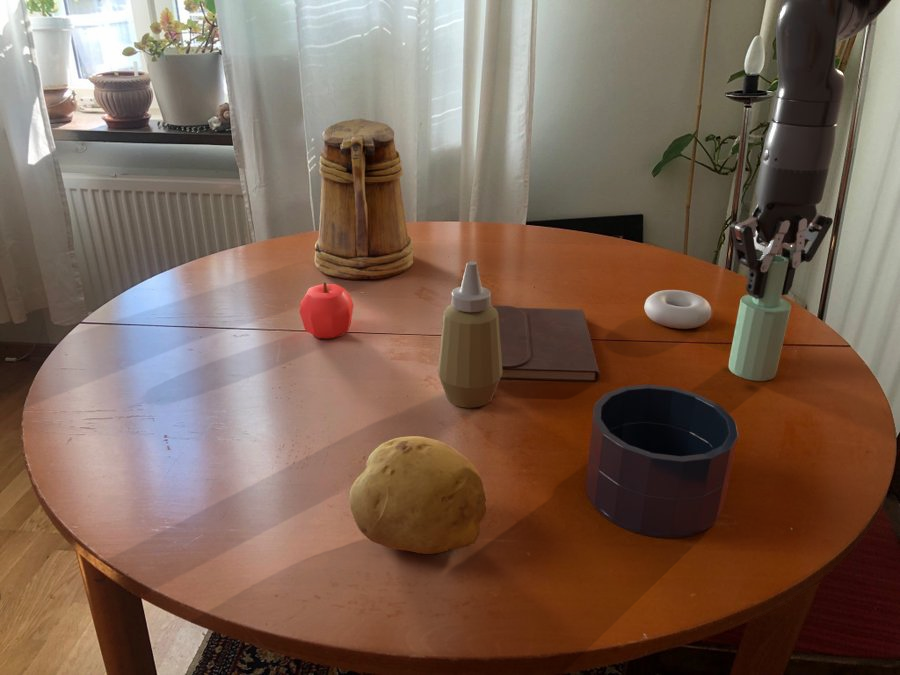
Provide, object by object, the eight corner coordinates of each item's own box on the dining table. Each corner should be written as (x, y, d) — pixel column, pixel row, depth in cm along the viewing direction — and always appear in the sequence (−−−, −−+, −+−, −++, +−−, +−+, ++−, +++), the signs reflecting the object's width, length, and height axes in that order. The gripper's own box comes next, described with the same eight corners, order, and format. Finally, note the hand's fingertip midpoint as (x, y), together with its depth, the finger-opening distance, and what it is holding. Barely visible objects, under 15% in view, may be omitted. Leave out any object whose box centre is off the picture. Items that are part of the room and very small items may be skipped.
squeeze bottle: (454, 376, 99) (455, 247, 91) (511, 389, 95) (517, 257, 87) (426, 404, 92) (424, 268, 84) (486, 420, 89) (490, 280, 81)
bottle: (771, 362, 102) (795, 252, 95) (779, 383, 97) (805, 268, 90) (725, 357, 103) (746, 249, 96) (731, 378, 98) (753, 265, 91)
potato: (484, 575, 66) (487, 484, 62) (345, 569, 67) (337, 479, 62) (486, 502, 75) (488, 418, 71) (363, 497, 76) (358, 414, 71)
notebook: (583, 318, 115) (584, 307, 114) (599, 381, 97) (600, 368, 96) (486, 316, 116) (486, 304, 115) (484, 378, 98) (485, 365, 97)
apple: (306, 347, 106) (301, 296, 102) (297, 325, 113) (293, 276, 109) (360, 339, 108) (357, 289, 105) (349, 318, 115) (346, 269, 111)
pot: (714, 463, 81) (728, 392, 77) (729, 547, 69) (746, 469, 65) (588, 448, 84) (595, 378, 80) (582, 527, 72) (590, 450, 68)
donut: (665, 301, 121) (630, 317, 115) (668, 281, 120) (632, 297, 114) (721, 320, 115) (687, 338, 109) (725, 300, 113) (691, 317, 107)
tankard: (407, 243, 146) (404, 113, 135) (422, 289, 126) (420, 139, 114) (314, 248, 144) (303, 116, 133) (314, 295, 123) (301, 143, 112)
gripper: (767, 172, 83) (740, 313, 90) (867, 163, 86) (833, 299, 94) (725, 157, 89) (703, 290, 97) (820, 150, 93) (792, 278, 100)
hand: (767, 294), depth 95 cm, fingers closed on bottle, 3 cm apart
